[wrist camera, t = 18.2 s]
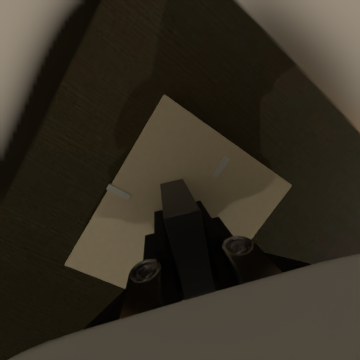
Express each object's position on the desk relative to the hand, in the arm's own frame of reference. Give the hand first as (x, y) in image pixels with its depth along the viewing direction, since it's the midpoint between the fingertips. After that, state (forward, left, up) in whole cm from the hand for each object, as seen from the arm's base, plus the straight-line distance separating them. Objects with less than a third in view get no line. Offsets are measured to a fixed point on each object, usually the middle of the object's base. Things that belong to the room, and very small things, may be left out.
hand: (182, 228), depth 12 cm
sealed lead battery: (0, 0, 0) cm, 0 cm away
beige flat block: (0, 0, -4) cm, 4 cm away
